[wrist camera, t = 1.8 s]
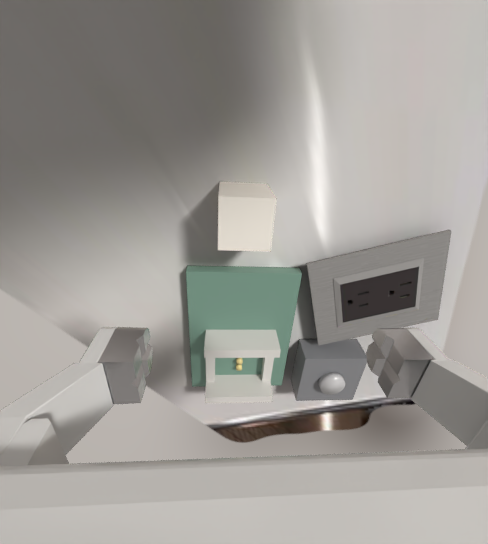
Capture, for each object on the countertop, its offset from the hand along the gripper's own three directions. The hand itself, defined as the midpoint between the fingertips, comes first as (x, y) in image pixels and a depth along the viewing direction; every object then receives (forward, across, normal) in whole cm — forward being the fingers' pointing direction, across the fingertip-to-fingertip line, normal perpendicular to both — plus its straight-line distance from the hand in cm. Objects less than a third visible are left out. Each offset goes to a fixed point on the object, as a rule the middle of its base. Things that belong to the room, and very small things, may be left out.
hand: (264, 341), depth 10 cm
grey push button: (+17, -11, +18) cm, 27 cm away
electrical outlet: (+17, -14, +7) cm, 23 cm away
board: (+16, -1, +13) cm, 21 cm away
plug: (+16, 0, 0) cm, 16 cm away
